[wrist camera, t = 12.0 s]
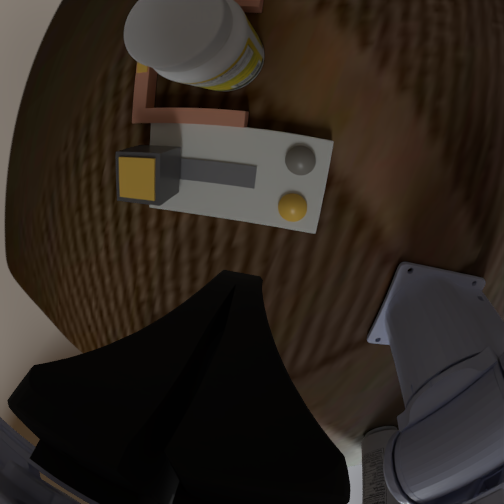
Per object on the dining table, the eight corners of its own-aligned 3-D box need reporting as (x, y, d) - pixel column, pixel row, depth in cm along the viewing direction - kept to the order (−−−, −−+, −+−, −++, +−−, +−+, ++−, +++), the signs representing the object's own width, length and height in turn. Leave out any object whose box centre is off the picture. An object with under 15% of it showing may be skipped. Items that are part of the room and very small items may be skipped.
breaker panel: (332, 140, 16) (334, 141, 15) (314, 228, 18) (315, 235, 17) (156, 121, 16) (149, 122, 16) (154, 203, 19) (148, 208, 18)
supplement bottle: (193, 29, 13) (122, -15, 6) (266, 25, 13) (239, -39, 5) (189, 94, 15) (111, 85, 8) (263, 93, 15) (231, 72, 7)
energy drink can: (381, 442, 32) (384, 524, 19) (352, 439, 31) (351, 528, 18) (408, 425, 29) (418, 515, 16) (380, 421, 29) (386, 521, 15)
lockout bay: (263, 1, 12) (260, -7, 11) (247, 126, 16) (243, 127, 15) (155, 7, 12) (146, 2, 11) (141, 121, 17) (131, 123, 15)
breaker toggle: (180, 146, 16) (159, 153, 13) (179, 192, 17) (158, 206, 15) (139, 145, 16) (114, 152, 14) (139, 187, 18) (116, 201, 15)
